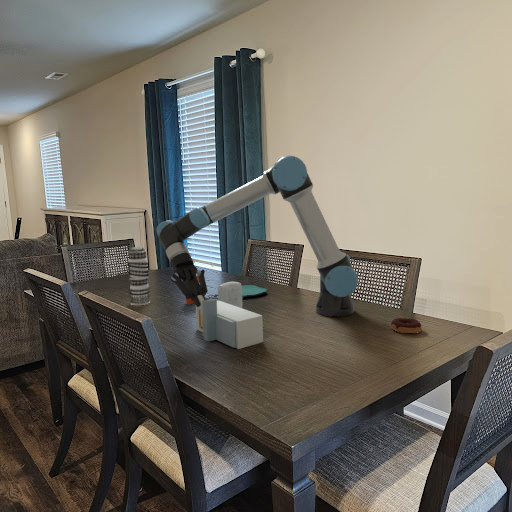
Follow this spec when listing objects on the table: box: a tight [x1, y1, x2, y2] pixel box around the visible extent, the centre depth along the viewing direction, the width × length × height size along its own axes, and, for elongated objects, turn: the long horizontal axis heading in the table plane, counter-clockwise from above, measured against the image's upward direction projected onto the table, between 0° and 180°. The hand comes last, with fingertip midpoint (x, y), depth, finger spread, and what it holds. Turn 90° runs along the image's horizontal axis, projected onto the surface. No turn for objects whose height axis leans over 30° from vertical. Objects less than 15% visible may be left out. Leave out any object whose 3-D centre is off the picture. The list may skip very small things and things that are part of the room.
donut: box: [390, 317, 422, 334], centre depth 158 cm, size 10×10×4 cm
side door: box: [202, 298, 236, 348], centre depth 147 cm, size 12×4×13 cm, turn 37°
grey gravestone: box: [217, 281, 243, 309], centre depth 185 cm, size 10×4×12 cm, turn 123°
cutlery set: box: [205, 285, 268, 300], centre depth 213 cm, size 20×30×2 cm, turn 124°
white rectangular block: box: [194, 300, 264, 350], centre depth 156 cm, size 26×10×9 cm, turn 37°
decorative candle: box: [126, 246, 151, 306], centre depth 200 cm, size 9×9×25 cm
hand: (206, 313), depth 152 cm, fingers closed
